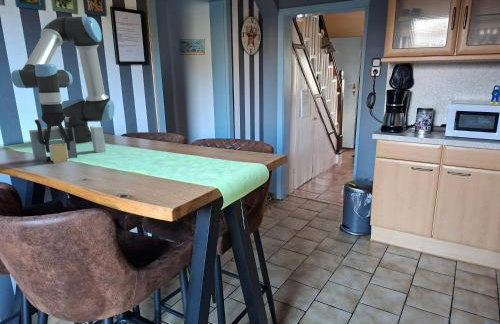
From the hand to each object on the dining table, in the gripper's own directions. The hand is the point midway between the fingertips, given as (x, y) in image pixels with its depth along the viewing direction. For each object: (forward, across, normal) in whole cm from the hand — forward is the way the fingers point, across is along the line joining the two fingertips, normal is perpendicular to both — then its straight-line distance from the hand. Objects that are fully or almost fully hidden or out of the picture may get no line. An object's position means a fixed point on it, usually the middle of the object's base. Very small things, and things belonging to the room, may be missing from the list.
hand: (59, 158), depth 142 cm
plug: (+1, 0, -6) cm, 6 cm away
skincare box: (+1, -18, -11) cm, 22 cm away
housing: (+1, 0, -7) cm, 7 cm away
